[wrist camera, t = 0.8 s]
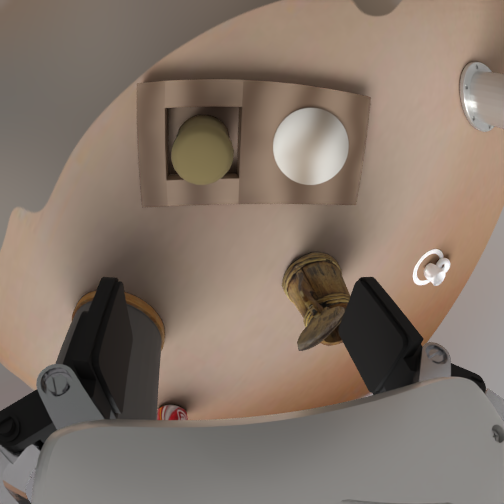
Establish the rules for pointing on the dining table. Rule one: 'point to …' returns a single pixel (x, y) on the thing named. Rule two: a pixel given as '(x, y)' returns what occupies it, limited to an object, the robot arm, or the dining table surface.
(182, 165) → the cork
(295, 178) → the caddy board
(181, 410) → the soda can
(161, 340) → the decorative piece
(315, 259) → the wooden mug
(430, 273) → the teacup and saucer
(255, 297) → the dining table surface
